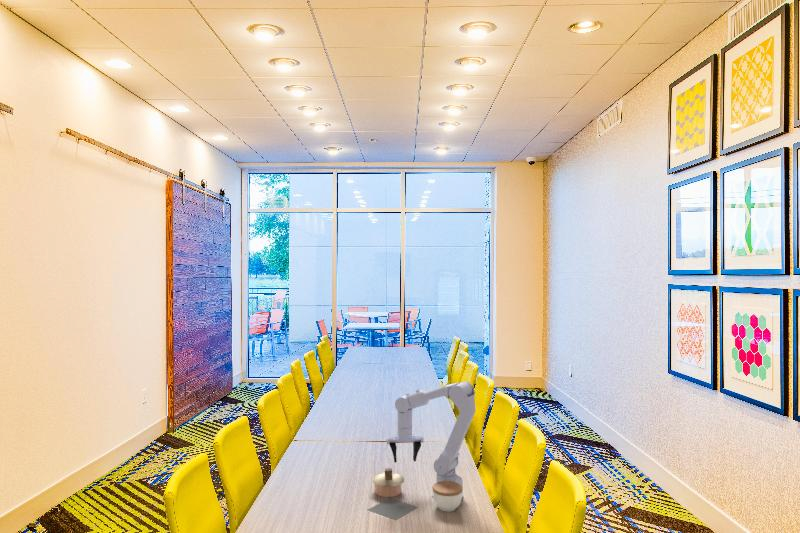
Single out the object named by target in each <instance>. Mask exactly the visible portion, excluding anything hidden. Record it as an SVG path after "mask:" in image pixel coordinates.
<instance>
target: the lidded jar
mask: <svg viewBox="0 0 800 533" xmlns="http://www.w3.org/2000/svg"><path fill="white" fill-rule="evenodd" d="M463 489H464V488H462V486H461V485H460V484H459V483H456V482H452V481H441V482H437V481H436V483H435V482H434V484H433V485H432V495H433V497H432V498H433V501H434V503H435V505H436V506H437V508H438V509H440V510H441V511H442V512H447V513H448V512H449V513H450V512H454V511H456V510H457V508H458V507H459V506H460V505H461V503H462V499H463V497H462V490H463ZM463 491H464V490H463Z"/></svg>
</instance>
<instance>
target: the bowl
mask: <svg viewBox="0 0 800 533" xmlns="http://www.w3.org/2000/svg"><path fill="white" fill-rule="evenodd" d="M402 486H403V483H402V484H401V485H398V486H394V487H383V486H378V485H376V484H374V493H375V494H376V496H377V495H378V496H380V497H382V498H383V497H387V498H391V497H392V498H393V497H397V496H399V495H401V493H402V490H403V489H402V488H403V487H402Z"/></svg>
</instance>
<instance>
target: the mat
mask: <svg viewBox="0 0 800 533" xmlns="http://www.w3.org/2000/svg"><path fill="white" fill-rule="evenodd" d="M418 508H419V507H418V506H416V505H413V504H410V503H406V502H403V501H400V500H398V499H395V498H393V497H392V498H391V497H388V498H387V499H385V500H383V501H381V502H379V503H378V504H376V505H373V506H372V507H369V508H367V511H369V512H372V513H375V514H378V515H381V516H383V517H386V518H389V519H392V520H394V521H397V520H399V519H400V518H402V517H404V516H405V515H407V514H409V513H411V512H413V511H414V510H416V509H418Z"/></svg>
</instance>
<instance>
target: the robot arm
mask: <svg viewBox="0 0 800 533" xmlns="http://www.w3.org/2000/svg"><path fill="white" fill-rule="evenodd" d="M442 397H445V398H446V399H450V400H451V401H452V403H453V404H454V405H455V406H456V408H457V409H458V410H459V414H458V416H457V418H456V420H455V423H454V426H453V428H452V430H451V433H450V435H449V437H448V440H447V443H446V445H445V448H444V449H443V450H442V452H441V453H440V454H439V455H438V457H437V459H436V460H434V462H433V469H434V472H435V473H436V483H437V482H441V481H452V482H456V483H459V484H460V485H461V486H462V488H463V478H462V477H461V476H460V475H458V474H457V472H456V468H457V467H458V466H459V456H460V449H461V446H462V444H463V442H464V439H465V437H466V435H467V432H468V430H469V428H470V426H471V423H472V421H473V419H474V415H475V413H476V401H475V400H476V399H475V397H476V391H475V388H474V386H473V384H472V383H470V382H469V381H465V380H464V381H461V382H460V383H459V382H454V383H450V384H446V385H443V386H440V387H438V388H434V389H432V390H429V391H426V390H424V389H420V388H419V389H416V390H415V392H412V393H410V392H409V393H406V394H405V395H403V396H400V397H398V398H397V399H396V400H395V401H394V408H395V409H396V411H397V436H391V437H386V440H385V443H386V445H389V446H390V449H391V452H392V456H393V461H394V463H395V464H396V463H397V461H398V460H397V447H398V446H397V444H408V443H410V444H411V443H412V445H413V447H412V448H413V453H412V460H413V462H416V461H417V457H418V453H419V452H420V449H421V447H422V443H424V437H423V436H422V435H421V436H420V435H419V436H418V435H413V409H417V408H419V407H423V406H427V405H428V404H429V401H431V400H434V399H437V398H442ZM463 489H464V488H463ZM463 491H464V490H462V498H464V494H463V493H464V492H463ZM431 498H433V494H432V495H431Z"/></svg>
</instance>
